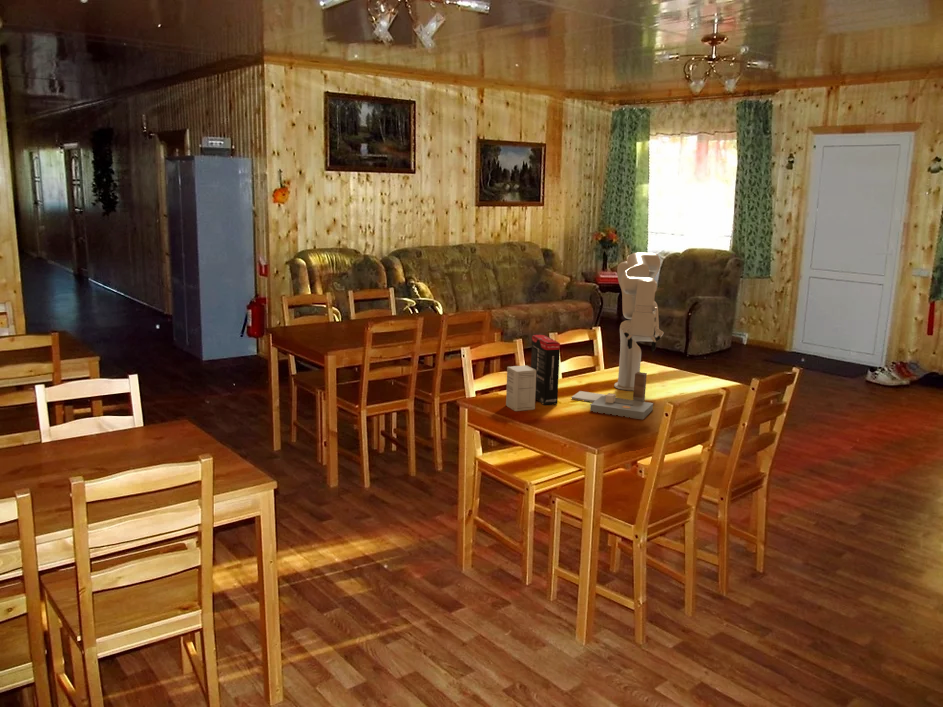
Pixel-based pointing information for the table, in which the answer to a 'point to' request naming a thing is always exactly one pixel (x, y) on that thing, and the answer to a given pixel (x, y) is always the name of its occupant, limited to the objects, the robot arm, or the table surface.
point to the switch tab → (610, 397)
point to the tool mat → (587, 396)
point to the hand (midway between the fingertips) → (641, 349)
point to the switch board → (622, 407)
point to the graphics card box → (545, 368)
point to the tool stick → (639, 387)
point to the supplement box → (521, 388)
